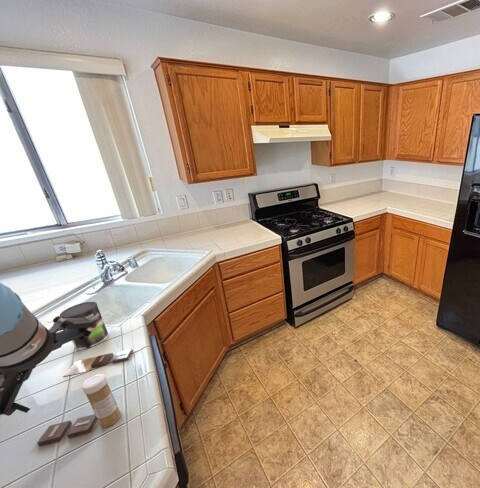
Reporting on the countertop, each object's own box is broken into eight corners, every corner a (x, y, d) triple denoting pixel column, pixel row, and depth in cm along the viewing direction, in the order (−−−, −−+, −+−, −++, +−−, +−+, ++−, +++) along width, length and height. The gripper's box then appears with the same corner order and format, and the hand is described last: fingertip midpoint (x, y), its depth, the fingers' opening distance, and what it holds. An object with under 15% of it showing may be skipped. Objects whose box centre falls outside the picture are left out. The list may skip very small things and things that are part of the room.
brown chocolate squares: (38, 446, 63) (36, 442, 63) (51, 428, 67) (49, 425, 67) (89, 432, 66) (87, 428, 65) (99, 416, 70) (97, 412, 69)
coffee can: (115, 334, 103) (103, 303, 99) (85, 352, 94) (70, 319, 89) (98, 329, 107) (85, 299, 102) (67, 347, 98) (52, 314, 93)
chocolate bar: (63, 377, 84) (61, 373, 83) (76, 361, 90) (74, 358, 90) (126, 362, 88) (125, 359, 87) (134, 348, 94) (133, 345, 94)
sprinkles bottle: (102, 416, 70) (84, 377, 65) (123, 408, 71) (106, 370, 67) (98, 431, 66) (78, 391, 61) (120, 422, 68) (102, 383, 63)
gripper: (-62, 444, 34) (9, 449, 49) (104, 292, 51) (119, 330, 66) (-125, 421, 33) (-33, 434, 48) (66, 274, 50) (89, 317, 65)
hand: (55, 373), depth 57 cm, fingers open, 13 cm apart
